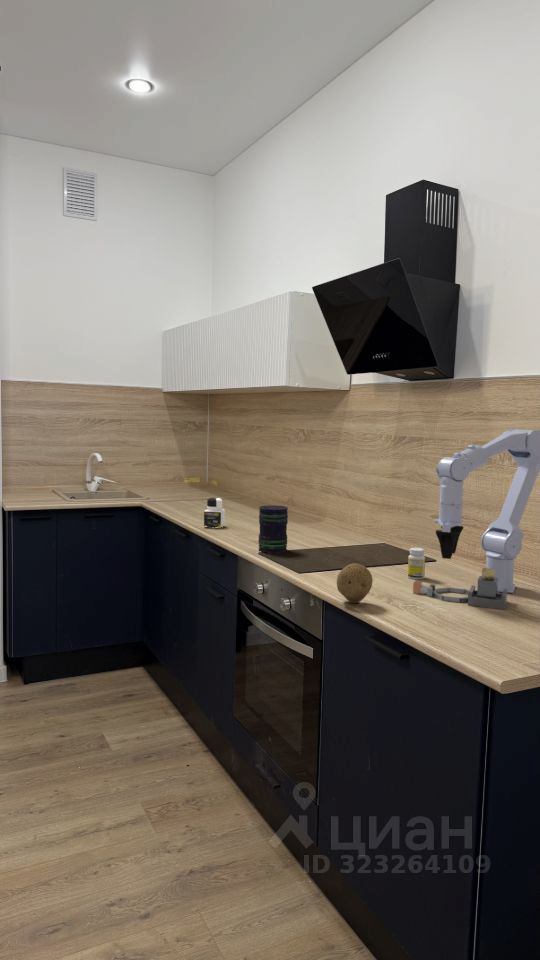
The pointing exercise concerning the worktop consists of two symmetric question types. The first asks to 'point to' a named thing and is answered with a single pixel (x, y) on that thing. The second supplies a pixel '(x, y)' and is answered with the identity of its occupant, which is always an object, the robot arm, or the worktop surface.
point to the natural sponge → (354, 582)
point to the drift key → (420, 588)
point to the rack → (484, 602)
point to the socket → (435, 592)
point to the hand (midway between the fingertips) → (448, 555)
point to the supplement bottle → (416, 563)
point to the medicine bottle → (214, 513)
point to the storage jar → (273, 529)
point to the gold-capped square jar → (487, 584)
